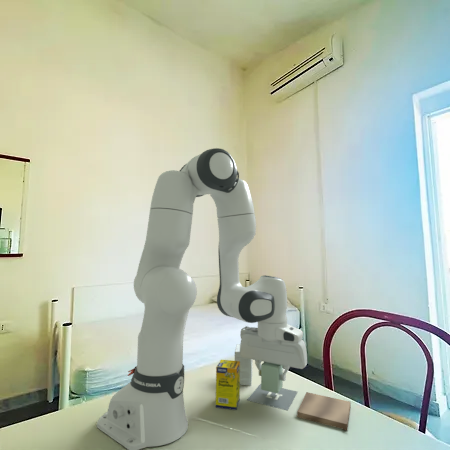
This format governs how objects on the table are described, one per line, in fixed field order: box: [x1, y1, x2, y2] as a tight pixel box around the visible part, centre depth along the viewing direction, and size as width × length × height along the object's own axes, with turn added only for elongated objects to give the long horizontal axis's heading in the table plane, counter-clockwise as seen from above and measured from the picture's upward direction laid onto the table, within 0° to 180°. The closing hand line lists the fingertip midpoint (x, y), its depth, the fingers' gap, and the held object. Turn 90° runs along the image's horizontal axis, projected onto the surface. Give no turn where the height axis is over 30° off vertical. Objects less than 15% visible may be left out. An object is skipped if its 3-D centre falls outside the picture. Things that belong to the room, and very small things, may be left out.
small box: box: [234, 343, 253, 386], centre depth 99 cm, size 8×6×10 cm
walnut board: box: [296, 392, 352, 431], centre depth 79 cm, size 12×12×2 cm
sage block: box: [260, 362, 284, 393], centre depth 88 cm, size 5×5×7 cm
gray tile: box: [246, 383, 299, 411], centre depth 88 cm, size 12×12×1 cm
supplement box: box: [215, 359, 241, 411], centre depth 84 cm, size 6×6×11 cm
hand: (272, 377), depth 88 cm, fingers closed on sage block, 5 cm apart
